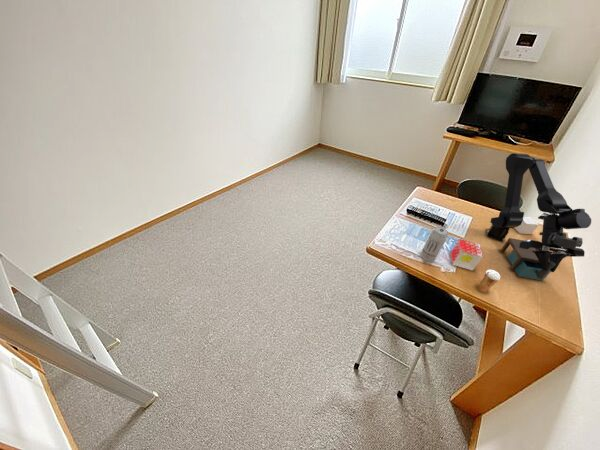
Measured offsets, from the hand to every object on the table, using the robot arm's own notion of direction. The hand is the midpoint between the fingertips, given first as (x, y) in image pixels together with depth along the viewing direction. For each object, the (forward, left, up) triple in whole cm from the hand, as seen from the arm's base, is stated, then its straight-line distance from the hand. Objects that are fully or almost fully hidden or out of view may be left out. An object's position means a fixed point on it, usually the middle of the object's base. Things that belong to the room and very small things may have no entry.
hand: (548, 271), depth 101 cm
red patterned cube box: (-26, -2, -9) cm, 28 cm away
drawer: (-3, +7, -8) cm, 11 cm away
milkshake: (-18, -14, -9) cm, 25 cm away
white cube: (-2, +41, -9) cm, 42 cm away
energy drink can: (-39, -9, -9) cm, 41 cm away
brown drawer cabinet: (-4, +12, -9) cm, 15 cm away
